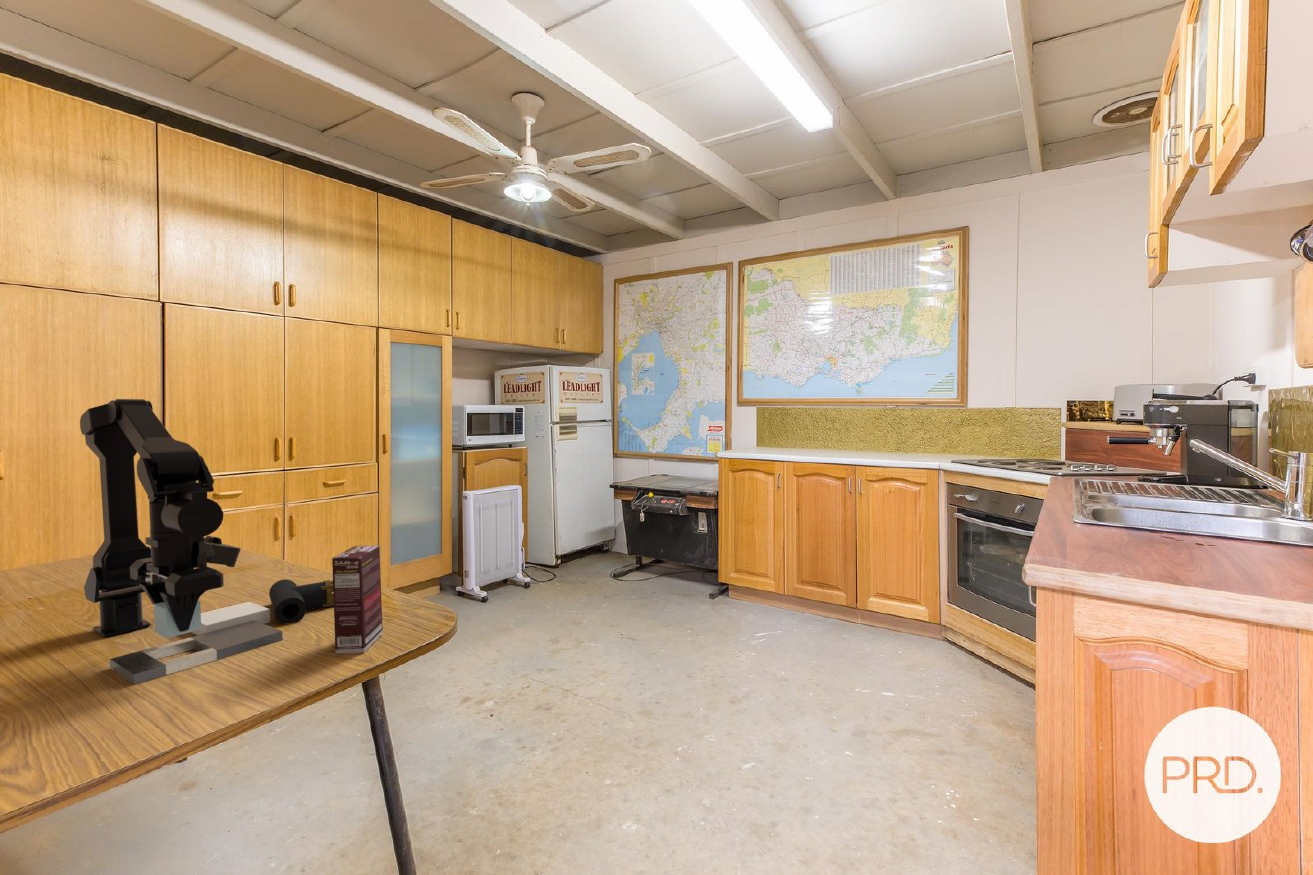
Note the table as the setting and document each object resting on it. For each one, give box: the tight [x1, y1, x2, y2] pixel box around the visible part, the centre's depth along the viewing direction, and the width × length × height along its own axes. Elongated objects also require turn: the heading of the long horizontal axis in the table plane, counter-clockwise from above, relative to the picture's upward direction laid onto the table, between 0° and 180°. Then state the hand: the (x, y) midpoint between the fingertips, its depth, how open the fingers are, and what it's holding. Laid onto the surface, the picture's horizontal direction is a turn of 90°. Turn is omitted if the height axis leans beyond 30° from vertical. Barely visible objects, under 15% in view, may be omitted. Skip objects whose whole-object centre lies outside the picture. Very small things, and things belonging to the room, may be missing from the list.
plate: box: [109, 620, 284, 685], centre depth 97 cm, size 10×20×2 cm, turn 147°
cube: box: [153, 600, 202, 639], centre depth 94 cm, size 4×4×4 cm
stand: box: [191, 601, 271, 636], centre depth 109 cm, size 8×10×2 cm
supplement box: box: [331, 544, 384, 655], centre depth 100 cm, size 9×5×16 cm, turn 5°
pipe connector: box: [268, 578, 334, 625], centre depth 119 cm, size 12×5×15 cm
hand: (177, 627), depth 94 cm, fingers closed on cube, 4 cm apart
